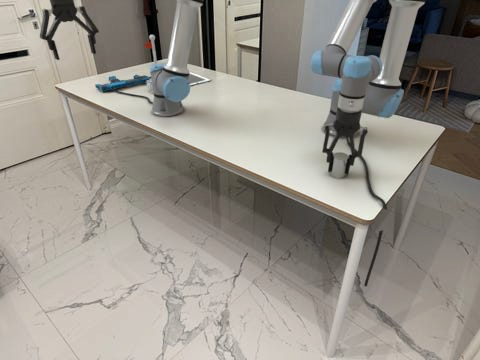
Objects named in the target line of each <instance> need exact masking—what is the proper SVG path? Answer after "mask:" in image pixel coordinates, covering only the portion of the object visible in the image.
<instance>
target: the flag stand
mask: <svg viewBox="0 0 480 360" xmlns="http://www.w3.org/2000/svg"><path fill="white" fill-rule="evenodd" d="M155 40H156V36H155V35H154V34H150V35H149V41H148V42H146V43H145V44H143V47H145V48H147V49H151V50H152V56H153V65H154V64H158V59H157V51H156V45H155ZM146 87H147V88H149V92H150V93H151V94H154V93H153V87H152V80H151V79H150V80H147V81H146Z"/></svg>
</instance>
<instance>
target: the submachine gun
mask: <svg viewBox="0 0 480 360" xmlns="http://www.w3.org/2000/svg"><path fill="white" fill-rule="evenodd" d="M150 79H151V76H148V75H146V74H145V75H144V74H143V75H139V74H134V75H133V78H129V79H122V80H120V79H119V78H117V76H115V75H112V76H108V80H109V81H110V82H109V83H104V84H100V83H96V84H94V85H95V89H97V90H99V92H107V91H113V92H115V91H114V89H115V90H117V89H120V88H121V89H122V88H126V87H129V86H130V87H131V86H134V85H140V84H147V82H146V81H147V80H149V81H150Z"/></svg>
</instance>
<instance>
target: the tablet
mask: <svg viewBox="0 0 480 360" xmlns="http://www.w3.org/2000/svg"><path fill="white" fill-rule="evenodd" d="M188 82H189V84H190V87H191V86H195V85H199V84H204V83H207V82H212V79H210V78H207V77H204V76H201V75H199V74H197V73H193V72H192V71H189V78H188Z"/></svg>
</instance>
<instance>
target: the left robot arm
mask: <svg viewBox="0 0 480 360" xmlns="http://www.w3.org/2000/svg"><path fill="white" fill-rule="evenodd" d="M204 1H205V0H176V7H175V13H174V19H173V26H172V32H171V37H170V44H169V49H168V56H167V61H166V62H161V63H157V64H154V63H153V64H151V65H150V67H149V73H150V77H151V80H152V87H153V93H152V94H153V100H152V101H151V100H150V98H149V97H148V96H145V95H139V94H134V93H128V92H123V91H120V90H117V89H114V91H113V92H116V93H119V94H121V95H127V96H132V97H138V98H143V99H146V100H147V101H148V103H149V104H152V106H151V111H152V114H153V115H154V116H157V117H174V116H177V115H180V114H181V113H183V112H184V105H183V103H182V101H184V100H185V99H187V98H188V96H189V94H190V92H191V86H190V84H189V82H188V78H189V72H190V70H189V68H188V65H189V60H190V59H189V58H190V53H191V49H192V48H191V47H192V44H193V43H192V42H193V37H194V32H195V27H196V23H197V22H196V21H197V16H198V11H199V8H200V7H202V6H204ZM49 4H50V6H51V9H46V8H42V11H41V12H42V21H41V26H40V32H39V38H40V39H41V40H43V41H46V43H47V46H48V50H49V51H52V52H53V57H54V59H55V60H57V61H60V59H61V58H60V55H59V52H58V49H57V45H56V41H55V40H54V39H53V38H54V36H55V35H56V32H57V30H58V28H59V26H60V24H61V23H67V22H76V23H77V24H78V25H79V26H80V27H81V28H82V29H83V30H84V31H85V32H86V33H88V34H87V39H88V44H89V48H90V52H91V54H93V55H96V54H97V50H96V44H97V40H96V34H99V29H98V27H97V26H96V25H95V23H94V22H93V20H92V18H91V17H90V16H89V14H88V13H87V11H86V8H85V6H84V5H79V6H76V5H75V0H49ZM78 13H79V14H81V16H82V17H83V19H84V20H85V22H86V23H87V24H88V25H87V24H86V23H84V21H82V20H81V19H80V18H79V17H78V16H77V14H78ZM52 15H53V16H54V18H53V22H52V23H51V25H50V27H49V22H50V17H51V16H52ZM48 28H49V29H48Z"/></svg>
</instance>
